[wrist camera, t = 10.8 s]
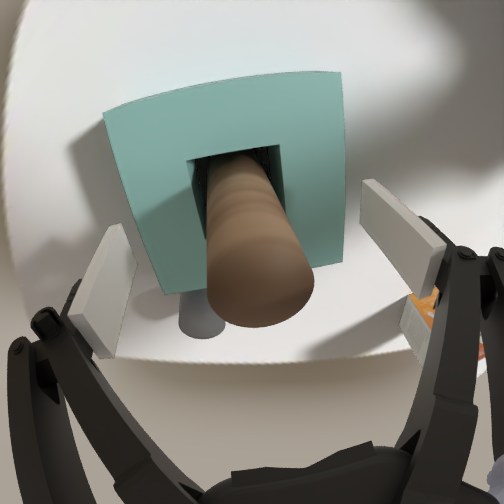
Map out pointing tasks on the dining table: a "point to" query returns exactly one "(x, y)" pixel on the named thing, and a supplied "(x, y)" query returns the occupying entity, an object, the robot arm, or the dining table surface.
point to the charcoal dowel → (198, 315)
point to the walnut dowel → (251, 246)
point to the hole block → (228, 140)
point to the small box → (426, 327)
